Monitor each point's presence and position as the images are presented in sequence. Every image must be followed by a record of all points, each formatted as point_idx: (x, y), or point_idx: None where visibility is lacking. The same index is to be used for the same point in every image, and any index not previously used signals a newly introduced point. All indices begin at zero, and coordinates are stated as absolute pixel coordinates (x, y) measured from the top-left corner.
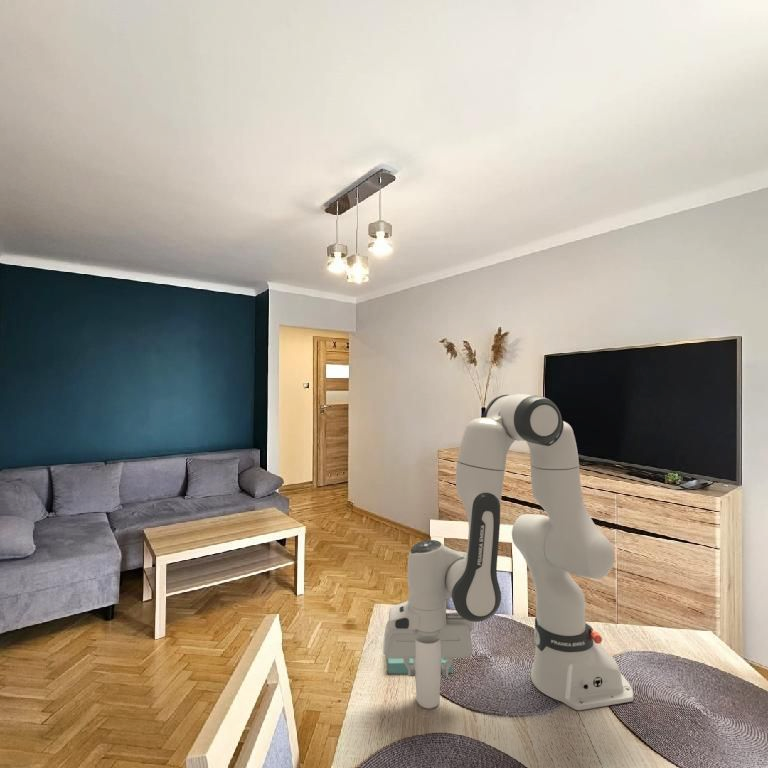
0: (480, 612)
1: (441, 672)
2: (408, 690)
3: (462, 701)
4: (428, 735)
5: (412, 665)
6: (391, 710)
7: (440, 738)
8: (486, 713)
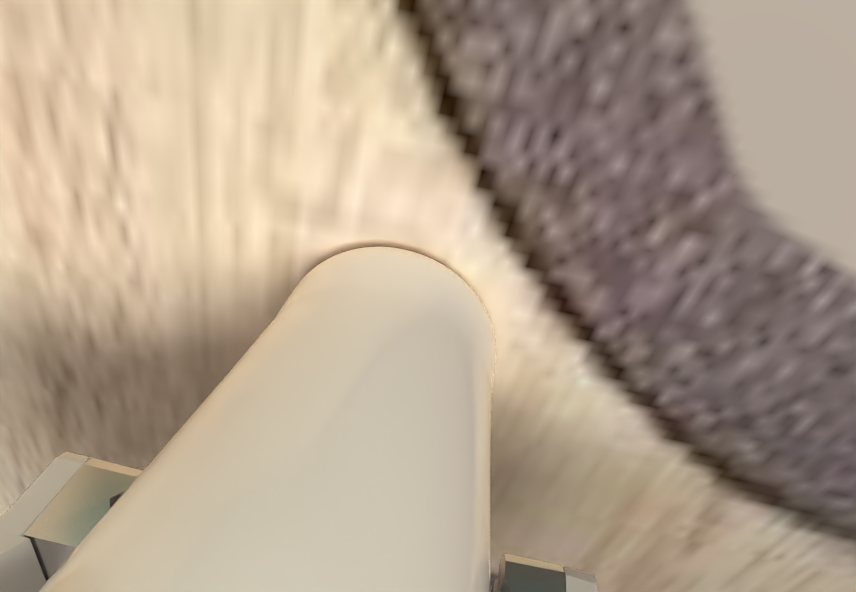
0: None
1: (499, 583)
2: (228, 155)
3: (702, 391)
4: None
5: (61, 555)
6: (104, 339)
7: None
8: (819, 526)
